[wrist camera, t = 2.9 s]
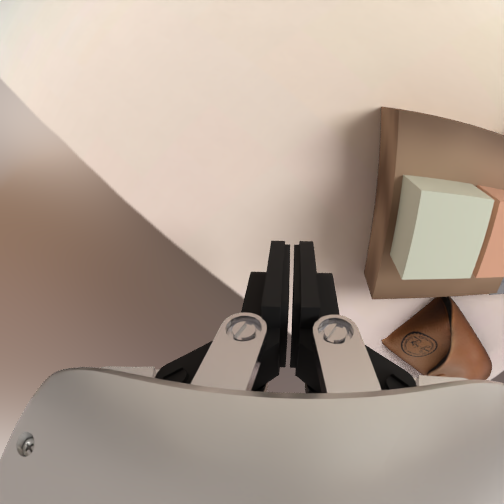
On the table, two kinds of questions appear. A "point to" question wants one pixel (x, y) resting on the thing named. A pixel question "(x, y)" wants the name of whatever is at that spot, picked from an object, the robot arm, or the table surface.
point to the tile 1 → (492, 239)
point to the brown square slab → (432, 166)
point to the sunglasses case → (441, 343)
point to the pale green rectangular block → (439, 228)
